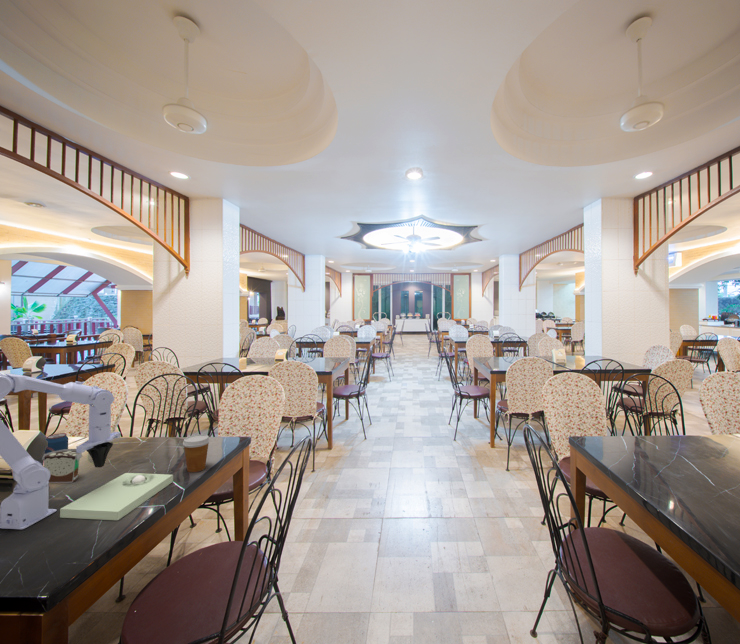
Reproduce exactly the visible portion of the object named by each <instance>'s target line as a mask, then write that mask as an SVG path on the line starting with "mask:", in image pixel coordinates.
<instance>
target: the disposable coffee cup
mask: <svg viewBox="0 0 740 644" xmlns="http://www.w3.org/2000/svg"><path fill="white" fill-rule="evenodd" d="M210 441H211V439H210V437H209V435H207V434H195V435H190V436H186V437H185V438H184V439H183V442H182V445H183V449H184V456H185V461H186V462H185V463H186V471H187V472H189V473H196V472H197V473H198V472H200V471H201V472H202V471H203V470H204V469H206V464H207V458H208V450H209V444H210Z"/></svg>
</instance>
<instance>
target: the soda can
mask: <svg viewBox="0 0 740 644" xmlns="http://www.w3.org/2000/svg"><path fill="white" fill-rule="evenodd" d="M45 440H47V441H48V447H47V448H46V450H45V449H44V451H45V453H44V454H47V453H50V452H54V451H58V450H64V449H69V437H68V436H67V433H65V432H64V433H63V432H62V433H61V432H60V433H53V434H50V435H48V436H46V439H45ZM44 454H43V455H44Z"/></svg>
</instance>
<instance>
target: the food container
mask: <svg viewBox="0 0 740 644" xmlns="http://www.w3.org/2000/svg"><path fill="white" fill-rule="evenodd" d="M81 458H83V453H76V448H68V449H64V450H58V451H54V452H50V453H47V454H43V456H42V458H41V461H43V467H45V468H47V469H48V470H49V471H50V479H49V483H48V484H51V483H52V484H53V483H55V484H56V483H57V484H59V483H60V484H61V483H62V484H64V483H66V484H67V483H68V484H69V483H72V484H73V483H75V482H76V481H77V480H78V476H79V475H78V474H79V467H80V466H79V465H80V460H81Z"/></svg>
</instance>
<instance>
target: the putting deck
mask: <svg viewBox="0 0 740 644" xmlns="http://www.w3.org/2000/svg"><path fill="white" fill-rule="evenodd" d="M138 475H142V476H144V477H145V479H146V480H145V481H144V482H141V483H136V484H132V480H133V479H134V478H135V477H136V476H138ZM173 482H174V474H164V473H162V474H161V473H142V472H141V473H139V472H137V473H136V472H125V473H123V474H121V475H119V476H118V477H116V478H114V479H112V480H110V481H108V482H106V483H104V484H103V485H101V486H99V487H98V488H95V489H93V490H92V491H90V492H88V493H87V494H85V495H83V496H81V497H79V498H78V499H76V500H74V501H72V502H70V503H68V504H66V505H65V506H62V507H61V508H60V509H59V518H63V519H66V518H67V519H83V520H85V519H86V520H102V521H103V520H104V521H120V520H121V519H122V518H123V517H125V516H126V515H128V514H129V513H131V512H132V511H134V510H135V509H136V508H138V507H139V506H141V505H142V504H144V503H145V502H146V501H148V500H149V499H151V498H152V497H154V496H155V495H156V494H158V493H159V492H160V491H162V490H163V489H164V488H166V487H168V486H169V485H170V484H171V483H173Z"/></svg>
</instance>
